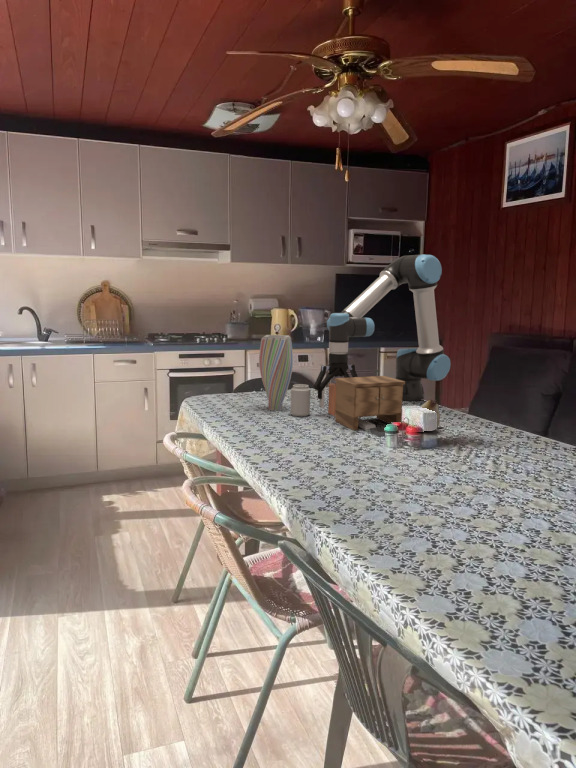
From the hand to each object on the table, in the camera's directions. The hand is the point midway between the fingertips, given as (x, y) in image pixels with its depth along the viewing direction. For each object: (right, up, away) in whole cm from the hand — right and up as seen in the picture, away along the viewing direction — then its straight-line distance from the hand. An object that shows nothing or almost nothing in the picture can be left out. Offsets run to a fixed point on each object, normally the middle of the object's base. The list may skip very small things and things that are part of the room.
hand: (337, 406), depth 233 cm
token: (+13, -9, -30) cm, 34 cm away
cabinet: (+10, -6, -15) cm, 19 cm away
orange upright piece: (+4, -5, -11) cm, 13 cm away
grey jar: (-15, -4, -2) cm, 15 cm away
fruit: (+29, -8, -25) cm, 39 cm away
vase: (-25, -2, +9) cm, 26 cm away
